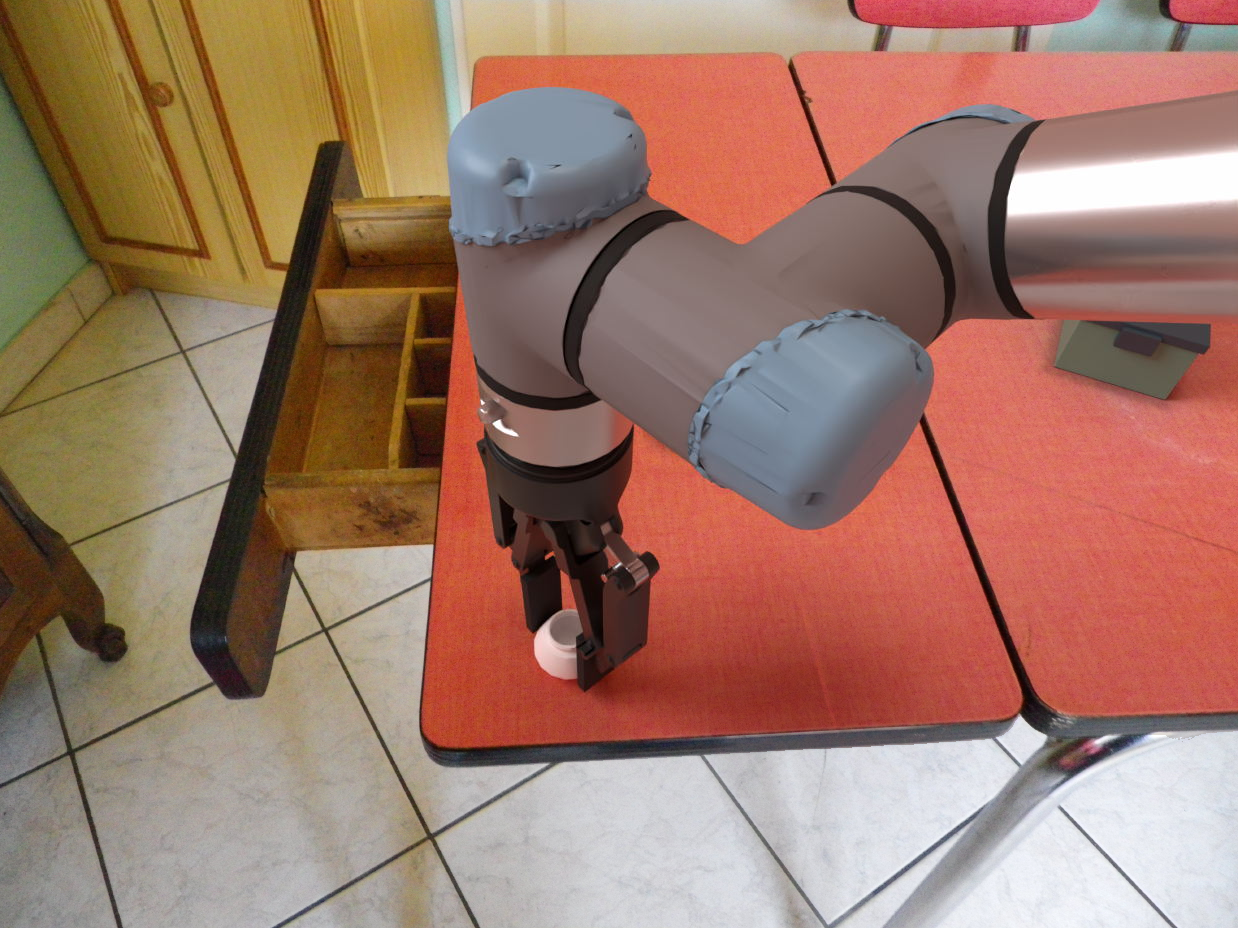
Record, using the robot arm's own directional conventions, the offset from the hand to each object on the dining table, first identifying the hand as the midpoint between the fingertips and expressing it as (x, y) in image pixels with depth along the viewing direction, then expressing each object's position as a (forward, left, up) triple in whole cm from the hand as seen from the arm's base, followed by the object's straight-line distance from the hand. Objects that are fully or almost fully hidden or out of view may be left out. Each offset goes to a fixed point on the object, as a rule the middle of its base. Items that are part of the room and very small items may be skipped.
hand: (569, 647), depth 60 cm
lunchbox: (-8, -62, -1) cm, 63 cm away
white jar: (0, 0, 0) cm, 0 cm away
